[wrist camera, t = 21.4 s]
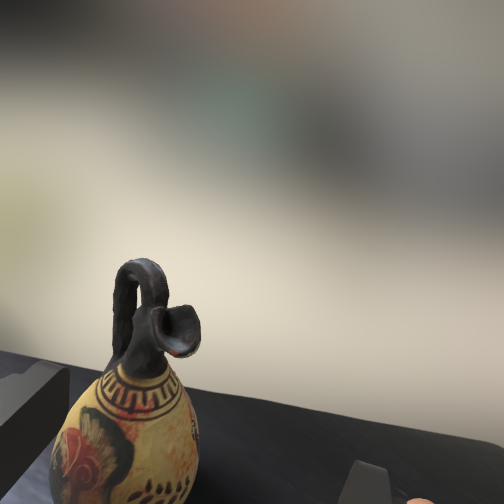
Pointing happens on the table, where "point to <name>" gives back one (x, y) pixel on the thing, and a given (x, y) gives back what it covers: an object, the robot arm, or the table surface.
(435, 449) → the table surface
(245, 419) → the table surface
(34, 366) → the robot arm
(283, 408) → the table surface
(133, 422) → the ceramic jug
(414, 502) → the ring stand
